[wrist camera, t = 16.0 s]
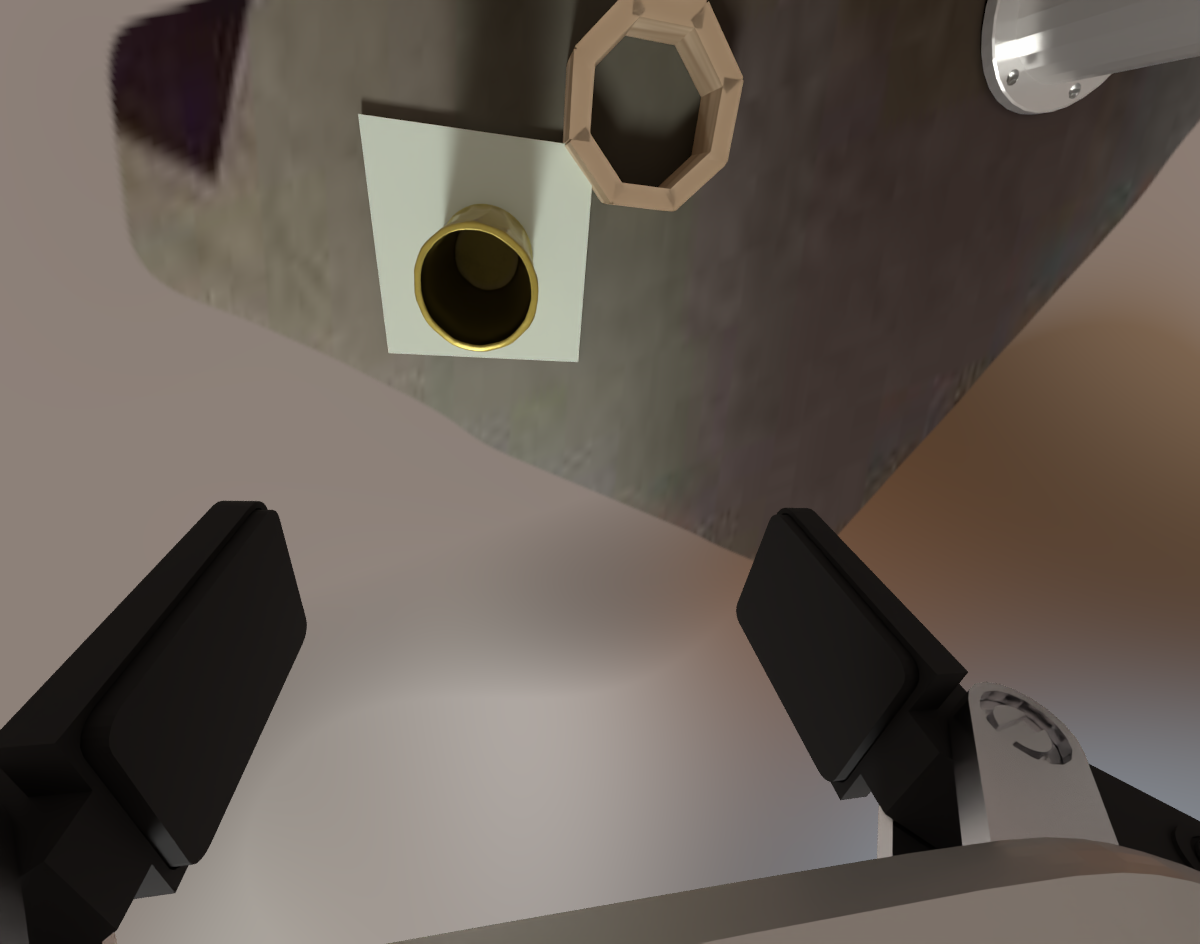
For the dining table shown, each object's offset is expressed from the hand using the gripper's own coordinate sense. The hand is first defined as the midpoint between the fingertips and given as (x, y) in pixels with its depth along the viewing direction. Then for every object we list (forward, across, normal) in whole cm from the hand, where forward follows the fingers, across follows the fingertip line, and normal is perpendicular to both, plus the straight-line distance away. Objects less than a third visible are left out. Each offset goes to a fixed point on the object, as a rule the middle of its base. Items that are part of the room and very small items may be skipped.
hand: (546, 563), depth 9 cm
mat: (+29, +2, -2) cm, 30 cm away
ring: (+30, -7, -12) cm, 32 cm away
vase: (+29, +2, -2) cm, 29 cm away
